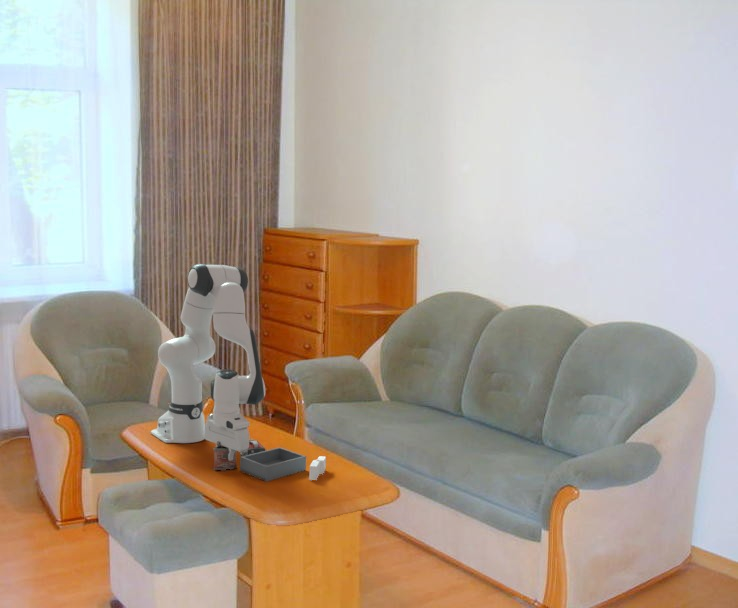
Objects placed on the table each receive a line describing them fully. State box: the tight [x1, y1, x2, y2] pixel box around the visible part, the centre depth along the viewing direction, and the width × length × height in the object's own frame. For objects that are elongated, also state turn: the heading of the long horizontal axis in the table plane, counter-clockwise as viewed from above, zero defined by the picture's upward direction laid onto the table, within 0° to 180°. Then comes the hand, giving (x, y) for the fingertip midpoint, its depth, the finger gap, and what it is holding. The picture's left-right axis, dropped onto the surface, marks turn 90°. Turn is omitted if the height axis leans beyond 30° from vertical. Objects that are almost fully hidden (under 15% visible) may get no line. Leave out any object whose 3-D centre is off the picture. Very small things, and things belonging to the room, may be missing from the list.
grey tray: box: [239, 446, 307, 482], centre depth 303 cm, size 14×18×5 cm
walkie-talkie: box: [239, 438, 266, 457], centre depth 321 cm, size 9×4×20 cm
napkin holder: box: [308, 455, 327, 481], centre depth 301 cm, size 15×11×6 cm
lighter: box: [212, 441, 238, 471], centre depth 303 cm, size 8×3×10 cm, turn 117°
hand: (225, 458), depth 303 cm, fingers closed on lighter, 3 cm apart
